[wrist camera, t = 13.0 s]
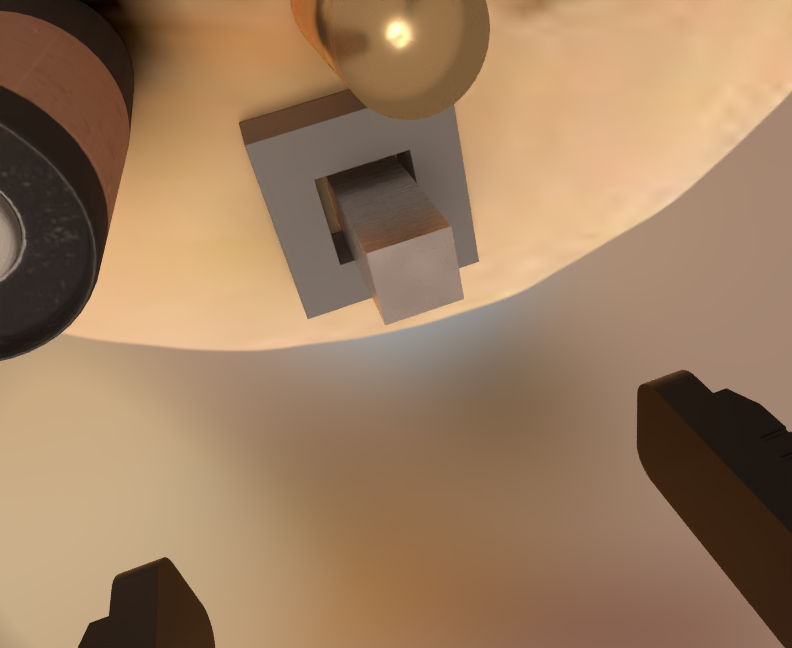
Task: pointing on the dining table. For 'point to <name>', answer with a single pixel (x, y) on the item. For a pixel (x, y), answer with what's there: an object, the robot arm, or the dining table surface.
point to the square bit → (395, 238)
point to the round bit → (399, 49)
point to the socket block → (337, 151)
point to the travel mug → (56, 161)
